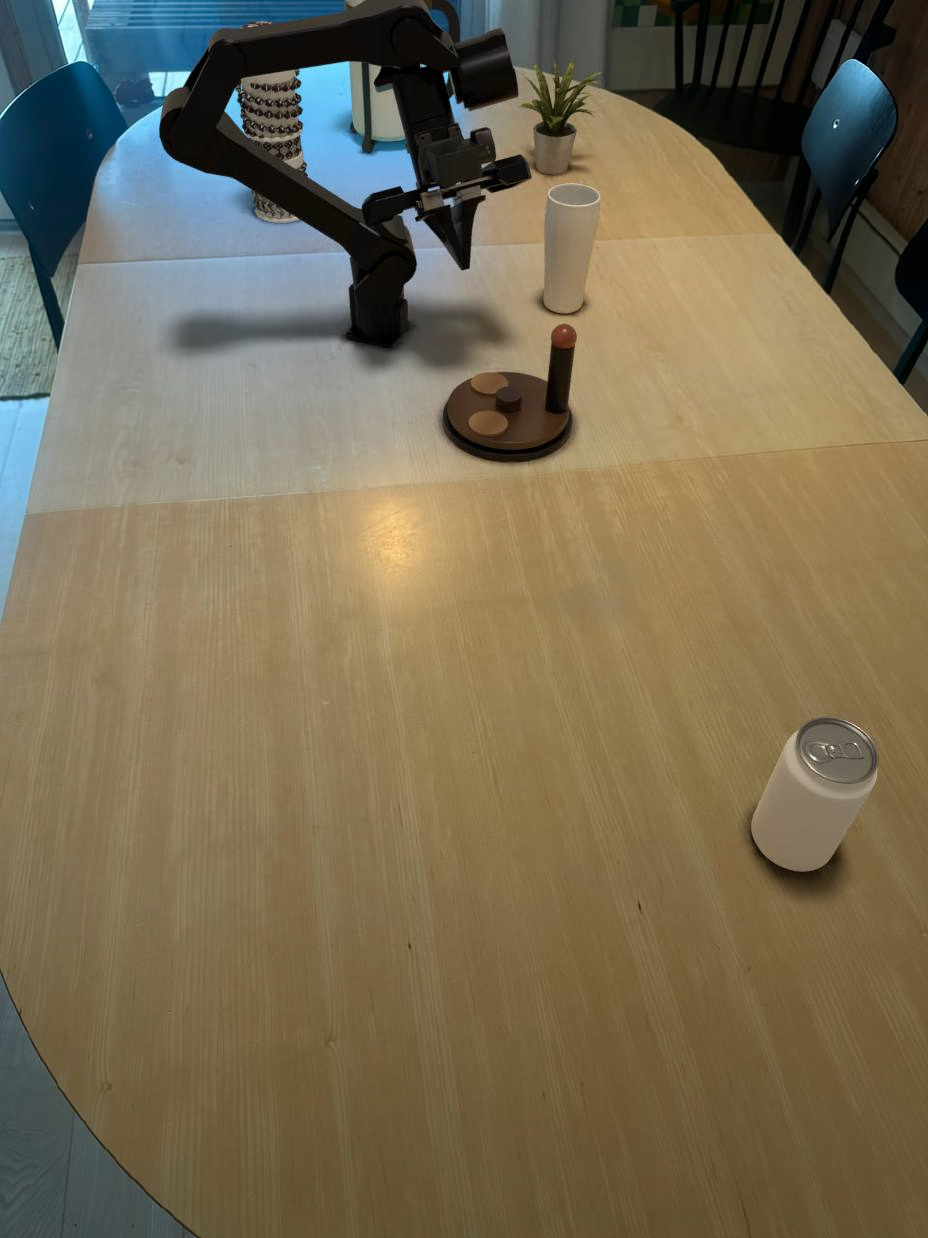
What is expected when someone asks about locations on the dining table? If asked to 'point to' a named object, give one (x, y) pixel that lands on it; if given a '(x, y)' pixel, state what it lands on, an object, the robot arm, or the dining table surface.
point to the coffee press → (380, 110)
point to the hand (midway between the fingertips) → (465, 269)
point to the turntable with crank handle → (517, 401)
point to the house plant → (556, 119)
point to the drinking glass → (568, 244)
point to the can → (815, 793)
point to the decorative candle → (273, 125)
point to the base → (506, 454)
